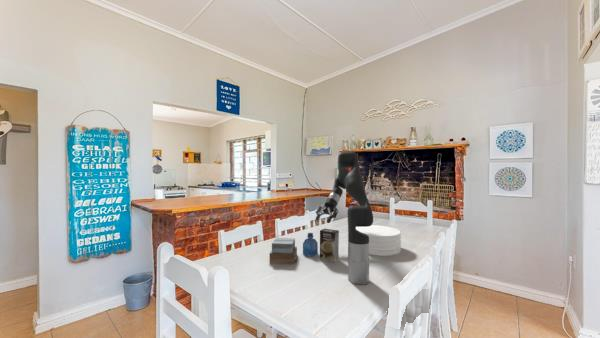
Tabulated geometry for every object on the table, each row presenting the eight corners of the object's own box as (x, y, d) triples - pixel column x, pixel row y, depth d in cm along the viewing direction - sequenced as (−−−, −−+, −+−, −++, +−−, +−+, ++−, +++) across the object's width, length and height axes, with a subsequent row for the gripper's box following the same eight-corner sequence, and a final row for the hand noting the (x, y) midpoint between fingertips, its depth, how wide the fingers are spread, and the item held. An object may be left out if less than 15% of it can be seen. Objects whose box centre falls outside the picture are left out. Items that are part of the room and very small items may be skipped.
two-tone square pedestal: (293, 263, 132) (293, 244, 132) (269, 262, 133) (269, 243, 133) (296, 255, 145) (296, 238, 145) (274, 254, 146) (274, 237, 146)
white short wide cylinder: (368, 239, 179) (368, 223, 179) (408, 248, 159) (408, 230, 159) (345, 248, 159) (345, 230, 159) (387, 259, 139) (387, 238, 139)
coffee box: (319, 260, 138) (319, 230, 138) (323, 256, 143) (323, 228, 143) (335, 262, 133) (335, 232, 133) (339, 259, 139) (339, 229, 139)
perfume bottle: (309, 251, 152) (309, 231, 152) (317, 253, 148) (317, 233, 148) (302, 254, 147) (302, 233, 147) (311, 256, 143) (311, 235, 143)
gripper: (321, 196, 167) (310, 216, 159) (339, 198, 158) (329, 219, 150) (326, 203, 172) (315, 223, 163) (344, 205, 162) (334, 226, 154)
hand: (322, 221), depth 156 cm, fingers open, 8 cm apart
